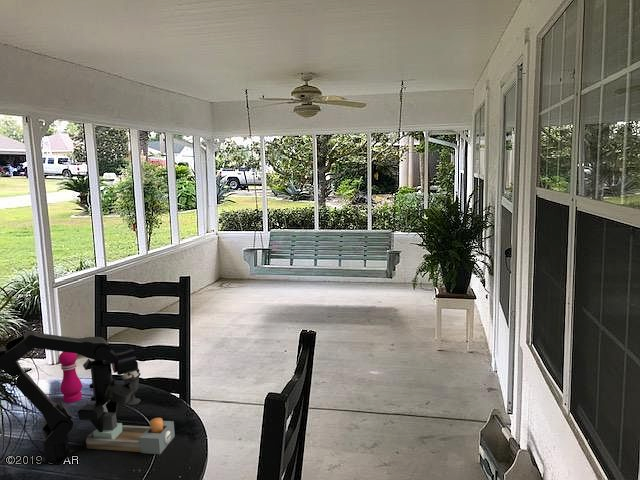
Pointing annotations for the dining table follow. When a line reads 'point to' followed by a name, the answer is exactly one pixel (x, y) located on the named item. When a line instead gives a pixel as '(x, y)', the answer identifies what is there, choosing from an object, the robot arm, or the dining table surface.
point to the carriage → (109, 427)
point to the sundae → (134, 379)
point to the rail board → (119, 440)
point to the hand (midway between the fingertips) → (107, 426)
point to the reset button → (156, 425)
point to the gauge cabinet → (157, 439)
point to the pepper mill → (70, 378)
